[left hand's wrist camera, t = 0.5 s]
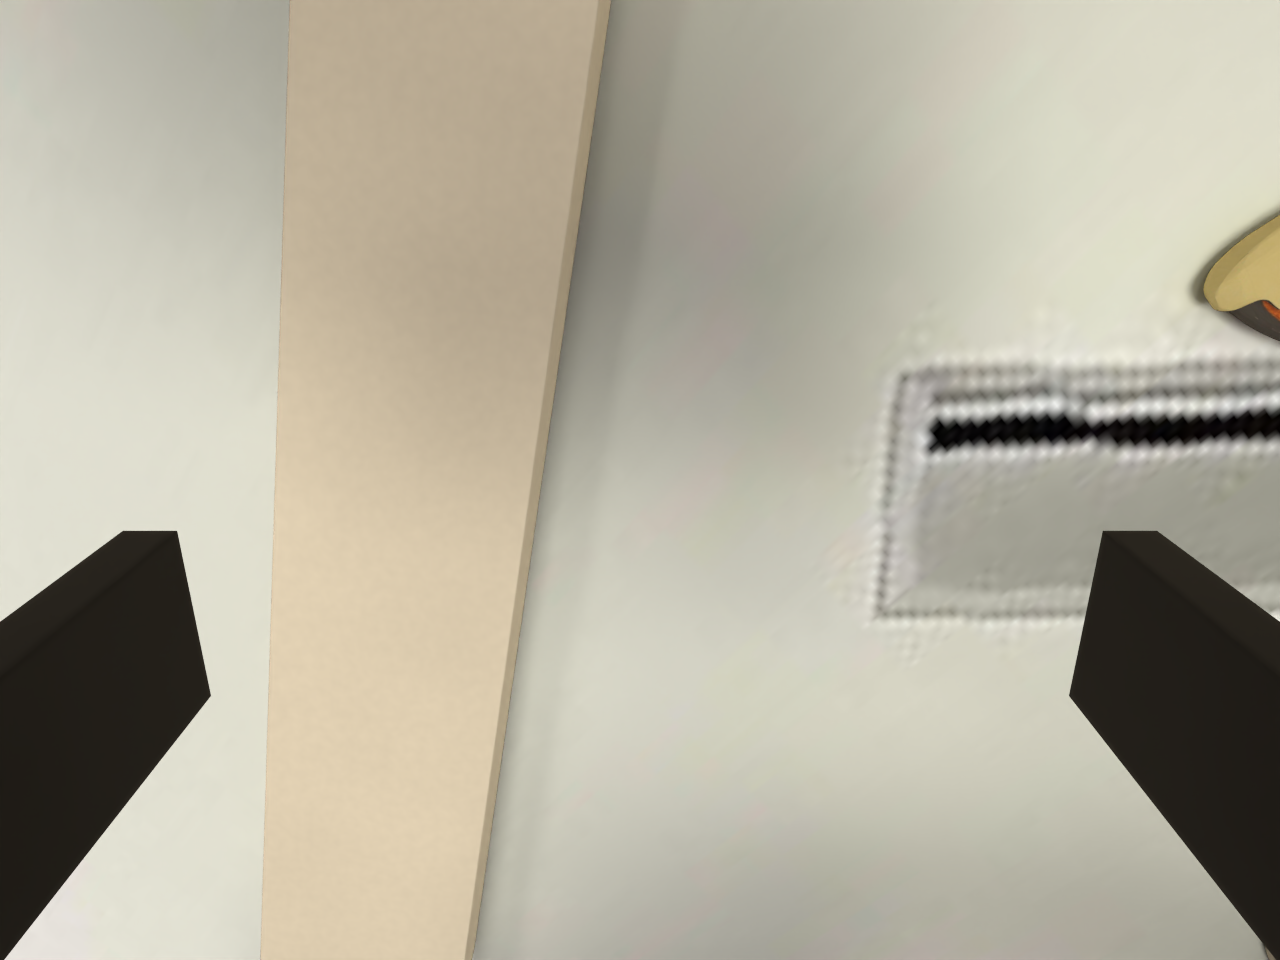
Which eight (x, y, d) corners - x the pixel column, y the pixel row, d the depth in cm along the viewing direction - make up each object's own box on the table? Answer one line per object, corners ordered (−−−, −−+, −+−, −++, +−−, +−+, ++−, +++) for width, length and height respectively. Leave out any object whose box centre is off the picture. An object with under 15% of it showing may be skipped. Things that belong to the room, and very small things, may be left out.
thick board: (377, -385, 28) (304, -535, 22) (658, -323, 29) (662, -452, 23) (306, 924, 48) (257, 1038, 42) (474, 946, 48) (450, 1062, 42)
